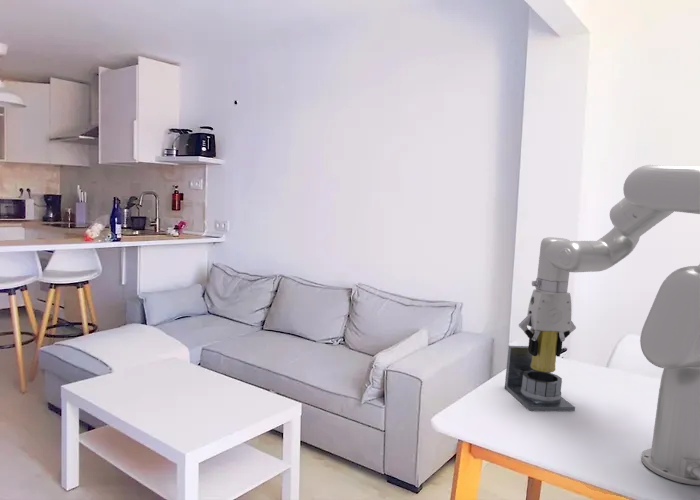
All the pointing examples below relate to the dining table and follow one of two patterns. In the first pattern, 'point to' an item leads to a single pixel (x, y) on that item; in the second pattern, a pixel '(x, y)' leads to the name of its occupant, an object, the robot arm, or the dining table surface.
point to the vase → (545, 352)
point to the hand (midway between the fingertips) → (544, 353)
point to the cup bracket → (533, 383)
